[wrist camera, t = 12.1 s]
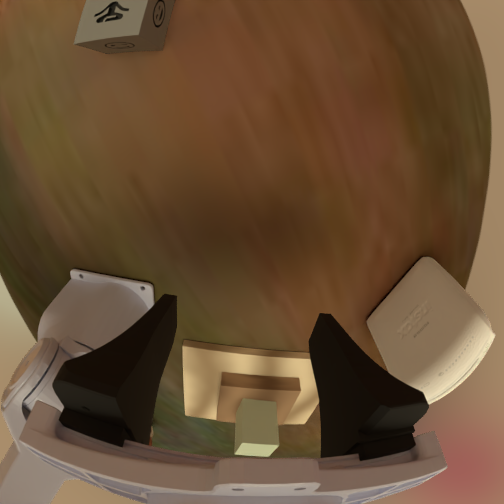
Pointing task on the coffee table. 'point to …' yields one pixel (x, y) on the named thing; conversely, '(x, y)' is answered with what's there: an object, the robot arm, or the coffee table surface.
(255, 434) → the sage block
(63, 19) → the coffee table surface
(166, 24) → the dice cube
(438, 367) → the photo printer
